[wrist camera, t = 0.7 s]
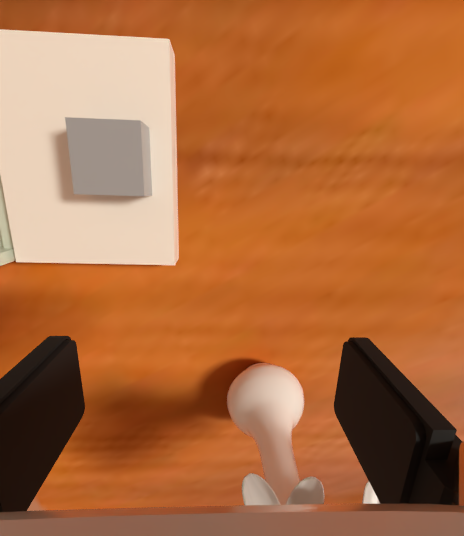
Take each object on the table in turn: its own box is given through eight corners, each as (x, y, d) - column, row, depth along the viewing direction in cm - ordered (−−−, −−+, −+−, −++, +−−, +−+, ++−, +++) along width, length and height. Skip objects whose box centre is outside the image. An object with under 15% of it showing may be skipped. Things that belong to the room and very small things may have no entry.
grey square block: (82, 125, 26) (64, 117, 23) (149, 127, 26) (140, 120, 23) (89, 193, 27) (73, 194, 24) (152, 195, 28) (144, 196, 25)
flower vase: (344, 393, 39) (551, 735, 14) (218, 436, 40) (215, 819, 16) (318, 311, 35) (533, 582, 11) (180, 361, 36) (102, 705, 12)
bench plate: (0, 45, 26) (-27, 27, 23) (174, 54, 27) (169, 39, 24) (34, 255, 32) (16, 262, 29) (178, 258, 32) (174, 265, 30)
